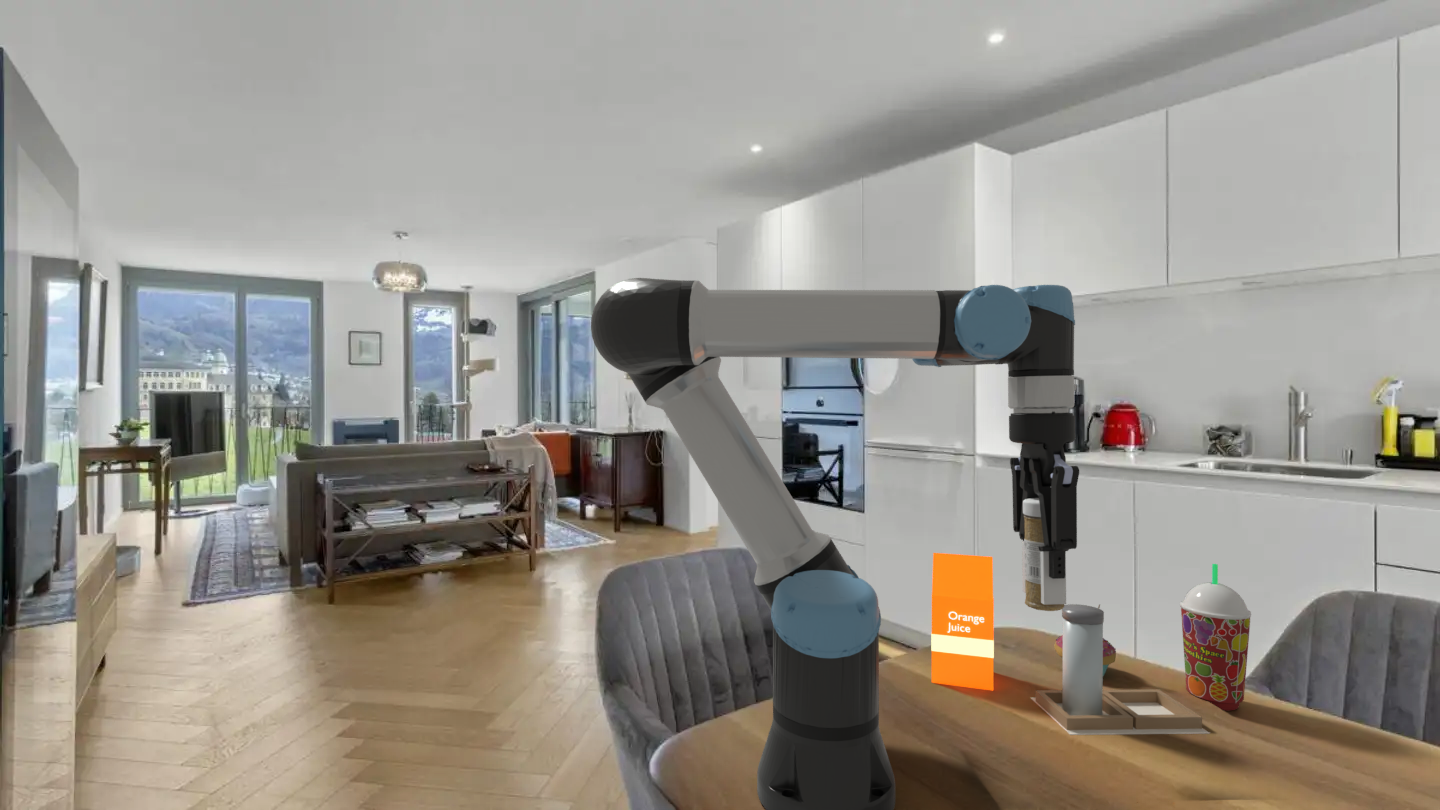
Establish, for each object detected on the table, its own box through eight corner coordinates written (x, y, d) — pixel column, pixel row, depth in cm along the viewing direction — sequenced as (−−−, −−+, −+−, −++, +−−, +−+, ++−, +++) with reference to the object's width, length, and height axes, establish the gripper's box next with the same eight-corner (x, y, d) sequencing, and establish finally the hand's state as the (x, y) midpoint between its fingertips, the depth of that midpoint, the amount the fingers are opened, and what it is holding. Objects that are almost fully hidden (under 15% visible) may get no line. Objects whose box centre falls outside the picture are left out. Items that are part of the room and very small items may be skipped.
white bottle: (1073, 723, 92) (1074, 615, 92) (1054, 706, 97) (1055, 604, 97) (1111, 722, 92) (1111, 615, 92) (1090, 706, 97) (1090, 604, 97)
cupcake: (1116, 674, 111) (1117, 599, 111) (1115, 694, 104) (1115, 613, 103) (1056, 664, 115) (1057, 591, 115) (1051, 682, 108) (1051, 604, 108)
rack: (1070, 743, 89) (1070, 722, 89) (1030, 705, 100) (1030, 686, 100) (1210, 742, 89) (1210, 721, 89) (1154, 704, 100) (1154, 685, 100)
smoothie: (1166, 695, 103) (1166, 560, 103) (1205, 687, 106) (1206, 555, 106) (1223, 719, 95) (1224, 573, 95) (1264, 710, 98) (1265, 568, 98)
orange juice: (933, 671, 112) (933, 547, 112) (992, 679, 109) (992, 551, 109) (930, 690, 105) (931, 558, 105) (994, 699, 102) (994, 562, 102)
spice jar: (1071, 608, 87) (1070, 499, 87) (1050, 614, 84) (1048, 503, 84) (1037, 599, 91) (1036, 496, 91) (1016, 605, 88) (1014, 499, 88)
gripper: (1110, 411, 79) (1113, 618, 79) (1039, 409, 96) (1041, 579, 96) (1044, 412, 79) (1046, 620, 79) (984, 410, 96) (986, 580, 96)
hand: (1043, 597), depth 87 cm, fingers closed on spice jar, 4 cm apart
